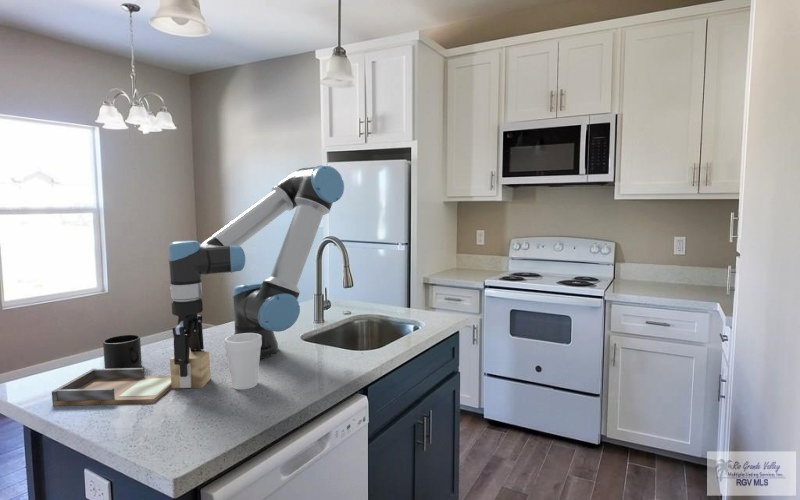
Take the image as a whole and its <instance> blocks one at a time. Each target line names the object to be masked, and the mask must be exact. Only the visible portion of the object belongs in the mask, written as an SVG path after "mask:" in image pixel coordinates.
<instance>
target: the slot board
mask: <svg viewBox="0 0 800 500" xmlns="http://www.w3.org/2000/svg"><path fill="white" fill-rule="evenodd" d="M171 389H172V388H171V375H149V376H148V375H145V367H140V368H115V369H105V368H91V369H90V370H88V371H86V372H84V373H82V374H81V375H79V376H77V377H76V378H74V379H71V380H70V381H68V382H67V383H64V384H63V385H61V386H59V387H58V388H56V389H54V390H52V391H51V401H52V403H51V404H52V406H53V407H54V406H56V407H57V406H87V405H89V406H90V405H95V406H96V405H127V404H128V405H129V404H130V405H132V404H154V403H156V402H157V401H158V400H159V399H160V398H162V397H163V396H164V395H165V394H166V393H167V392H168V391H170V390H171Z"/></svg>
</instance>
